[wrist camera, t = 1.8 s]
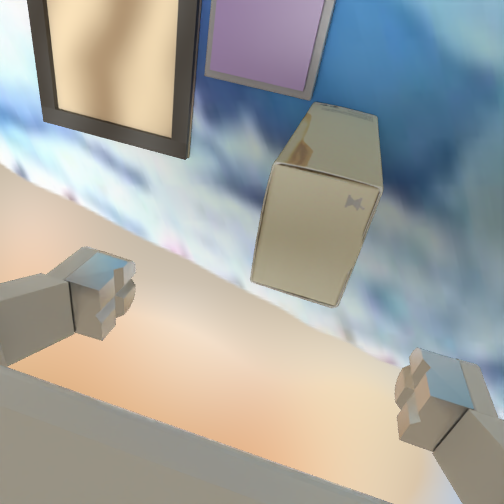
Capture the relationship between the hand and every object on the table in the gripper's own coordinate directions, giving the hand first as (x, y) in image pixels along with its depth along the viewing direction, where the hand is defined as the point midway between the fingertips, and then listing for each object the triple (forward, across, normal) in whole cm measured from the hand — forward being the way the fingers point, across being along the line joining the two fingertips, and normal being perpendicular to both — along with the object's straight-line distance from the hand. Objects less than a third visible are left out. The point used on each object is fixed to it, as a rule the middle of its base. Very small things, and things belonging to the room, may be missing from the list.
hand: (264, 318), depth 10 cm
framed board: (+18, +15, -3) cm, 24 cm away
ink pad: (+18, +5, -7) cm, 20 cm away
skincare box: (+18, -1, 0) cm, 18 cm away
